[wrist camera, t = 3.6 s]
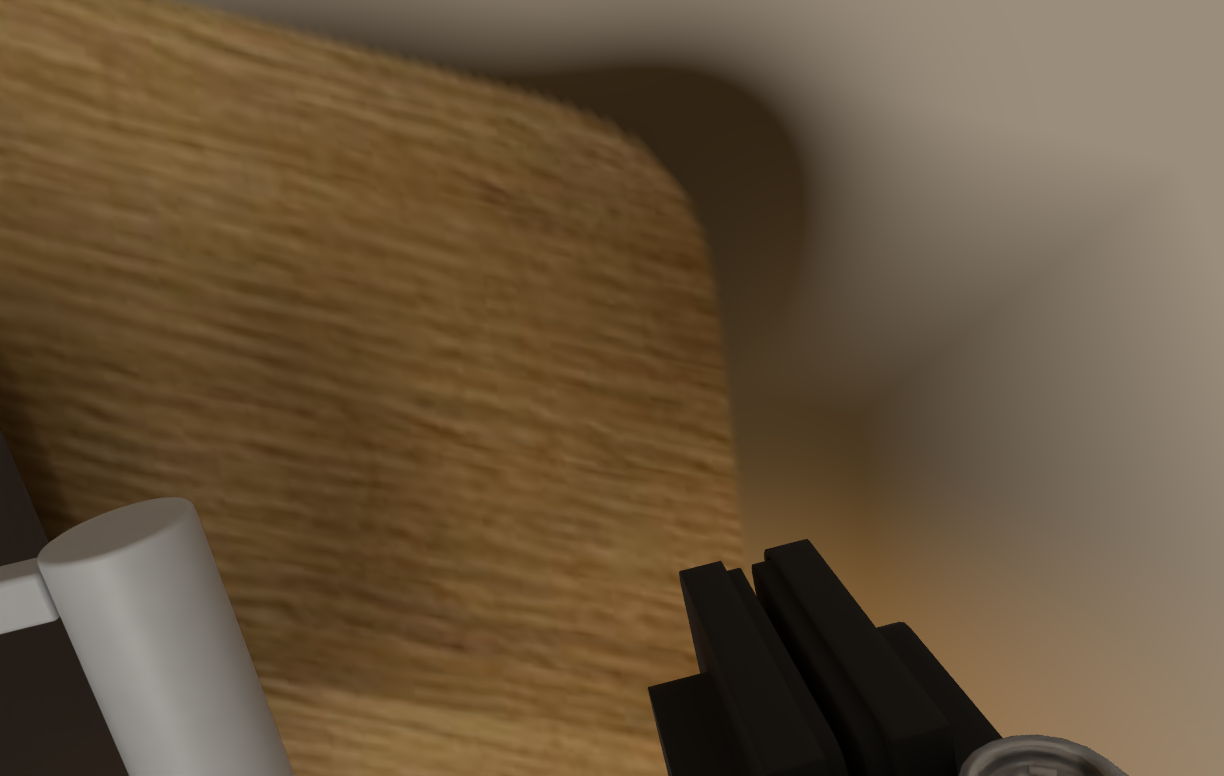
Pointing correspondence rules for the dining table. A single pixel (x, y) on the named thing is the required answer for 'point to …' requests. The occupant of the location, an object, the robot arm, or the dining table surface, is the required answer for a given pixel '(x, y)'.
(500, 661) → the dining table surface
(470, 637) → the dining table surface
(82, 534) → the drawer front with handle
